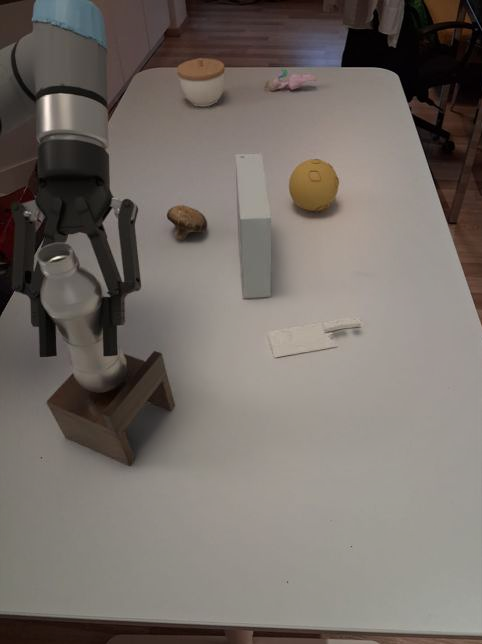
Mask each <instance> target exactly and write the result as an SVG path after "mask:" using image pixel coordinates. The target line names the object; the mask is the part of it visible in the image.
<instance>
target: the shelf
mask: <svg viewBox="0 0 482 644" xmlns="http://www.w3.org/2000/svg"><path fill="white" fill-rule="evenodd" d="M123 354H124V356H125V358H126V363H127V374H126V376H125V378H124V380H123V381H122V383H121V384H120V385H119V386H118V387H116V388H115V389H113V390H111V391H108V392H103V393H97V392H92V391H89V390H86V389H84V388H83V387H82V386H81V385H80V384H79V383H78V381H77V380H76V379H75V377H74V375H73V372H72V373H71V375H70V376H68V378H67V379H66V380H65V381H64V382H63V383H62V384H61V385H60V386H59V387H58V388H57V390H55V391H54V393H52V395H51V396H50V397H49V398H48V399H47V400H46V401H45V403H46V405H47V408H48V409H49V410H50V412H51V415H52V416H53V418H54V420H55V421H56V423H57V425H58V427H59V429H60V431H61V433H62V435H63V436H64V438H65V439H68V440H69V441H72V442H74V443H76V444H79V445H80V446H83V447H85V448H87V449H90V450H92V451H95V452H97V453H99V454H101V455H103V456H106V457H108V458H110V459H112V460H115V461H117V462H118V463H119V462H120V463H121V464H124V465H126V466H128V467H131V466H132V465H133V464H134V463H135V461H136V457H135V454H134V452H133V450H132V447H131V444H130V442H129V439H128V437H127V435H126V432H125V430H126V429H127V427H128V426H129V425H130V423H131V421H132V420H133V419H134V418H135V417H136V416H137V414H138V413H139V412H140V410H141V409H142V407H143V406H144V405H145V404H146V403H147V404H151V405H153V406H155V407H159V408H161V409H163V410H166V411H169V412H172V411H173V409H174V408H175V407H176V402H175V399H174V396H173V391H172V388H171V384H170V383H171V382H170V380H169V375H168V372H167V368H166V364H165V360H164V356H163V353H162V352H159V351H156V350H154V351H153V352H152V353H151V354H150V355H149V356H148V357H147V359H146V360H142V359H140V358H137V357H134V356H133V355H129V354H127V353H124V352H123Z"/></svg>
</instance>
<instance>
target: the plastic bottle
mask: <svg viewBox="0 0 482 644" xmlns="http://www.w3.org/2000/svg"><path fill="white" fill-rule="evenodd" d="M36 260H38V262H39V264H40V269H41V271H42V273H43V275H45V277H44V280H43V282H42V286H41V289H40V296H41V302H42V304H43V306H44V308H45V310H46V311H47V313H48V314H49V316H50V317H51V319H52V320H53V321H54V323H55V324H56V329H58V331H59V334H60V335H61V337H62V340H63V341H64V343H65V346H66V349H67V352H68V356H69V359H70V367H71V371H72V373H73V375H74V377H75V379H76V380H77V381H78V383H79V384H80V385H81V386H82V387H83V388H84V389H86V390H89V391H92V392H97V393H103V392H108V391H111V390H113V389H115V388H116V387H118V386H119V385H120V384H121V383H122V381H123V380H124V378H125V376H126V374H127V363H126V358H125V356H124V354H125V353H124V352H123V349H122V348H121V347H120V345H118V344H117V346H118V355H116V356H103V324H102V297H104V291H103V287H102V284H101V282H100V281H99V279H98V278H97V277H96V275H94V273H92V272H90V271H89V270H87V269H86V268H84V267H83V266H81V264H80V263H81V262H80V260H79V257H78V255H76V252H75V249H74V248H73V246H72V245H71V244H70V243H67V242H65V243H62V242H57V243H52V244H49V245H46V246H44V247H43V248H41V247H40V249H39V250H38V251H37V253H36ZM123 353H124V354H123Z"/></svg>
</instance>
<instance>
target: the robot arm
mask: <svg viewBox="0 0 482 644" xmlns="http://www.w3.org/2000/svg"><path fill="white" fill-rule="evenodd" d="M31 23H32V31H31V32H30V33H28V34H26V35H24V36H23V37H21V38H19V40H18V41H16V42H13V43H11V44H9V45H7V46H5V47H3V48H1V49H0V138H1V137H4V135H6V134H8V133H10V132H11V131H13V130H14V129H17V128H18V127H20V126H22V125H23V124H24V123H26V122H28V121H30V120H31V119H32V118H35V119H36V120H35V121H36V124H35V125H36V141H37V142H38V144H40V145H39V146H37V149H36V154H37V181H38V184H39V185H38V186H39V187H38V190H37V193H36V195H35V199H32V200H29V201H25V202H22V203H21V202H20V201H13V202H11V204H10V211H11V214H12V215H11V216H12V217H13V221H14V237H13V253H12V255H13V256H12V274H11V275H12V276H11V289H12V291H14V292H16V293H20V294H21V295H25V296H27V297H28V298H29V302H30V304H29V305H30V323H31V326H32V328H38V346H39V347H38V348H39V358H52V357H57V356H58V353H57V347H58V346H57V326H56V324H55V323H54V321H53V320H52V319H51V317H50V316H49V314H48V313H47V311H46V310H45V308H44V306H43V304H42V302H41V296H40V289H41V286H42V282H43V280H44V277H45V275H43V273H42V271H41V269H40V264H39V262H38V259H36V263H35V255H36V253H35V252H36V235H37V233H36V232H37V230H36V229H37V227H36V221H38V220H39V217H38V216H39V215H38V214H39V212H40V213H41V214H42V215H43V216H44V218H45V219H46V222H45V225H44V228H43V231H42V232H43V233H42V235H43V240H42V244H41V246H40V249H41V248H43V247H44V246H46V245H49V244H52V243H57V242H62V243H67V240H68V237H69V235H75V234H78V233H81V234H85V235H86V236H87V238H88V239H89V241H90V244H91V247H92V249H93V253H94V255H95V258H96V261H97V263H98V266H99V269H100V272H101V275H102V277H103V281H104V283H105V286H106V289H107V291H106V294H107V295H109V296H103V297H102V324H103V356H116V355H118V346H119V345H118V327H119V326H121V327H123V326H125V322H126V297H127V296H128V295H129V294H132V293H134V292H139V291H140V290H141V289H142V280H141V279H142V278H141V269H140V262H139V253H138V242H137V233H136V222H137V218H138V212H139V207H138V205H137V204H136V203H134V201H132V200H131V199H130V198H124V199H120V198H115V197H114V195H113V193H112V191H111V187H110V186H111V177H110V176H111V175H110V173H111V172H110V154H109V152H107V149H108V148H109V111H108V105H109V103H108V53H109V48H108V45H107V38H106V37H107V36H106V25H105V19H104V16H103V13H102V12H101V10H100V8H98V7H97V5H95V3H94V2H92V1H90V0H35V2H34V4H33V10H32V17H31ZM112 210H113V212H114V213H113V214H114V217H116V219H117V229H118V238H119V245H120V246H119V248H120V255H121V263H122V273H123V279H122V277H121V274H120V271H119V268H118V265H117V262H116V261H115V257H114V255H113V252H112V249H111V246H110V243H109V240H108V235H107V232H106V229H105V226H104V224H103V223H104V222H105V220H106V219H107V217H108V215H109V214H110V213H111V212H112ZM117 345H118V346H117Z"/></svg>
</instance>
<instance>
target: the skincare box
mask: <svg viewBox="0 0 482 644" xmlns="http://www.w3.org/2000/svg"><path fill="white" fill-rule="evenodd" d="M264 163H265V162H264V157H263V153H237V154H235V180H236V181H235V182H236V183H235V184H236V215H237V237H238V251H239V252H238V254H239V267H240V268H239V269H240V281H241V297H242V299H251V298H252V299H254V298H255V299H258V298H270V297H271V289H272V288H271V287H272V285H271V284H272V283H271V282H272V210H271V205H270V200H269V199H270V198H269V191H268V184H267V178H266V177H267V176H266V170H265V164H264Z"/></svg>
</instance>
